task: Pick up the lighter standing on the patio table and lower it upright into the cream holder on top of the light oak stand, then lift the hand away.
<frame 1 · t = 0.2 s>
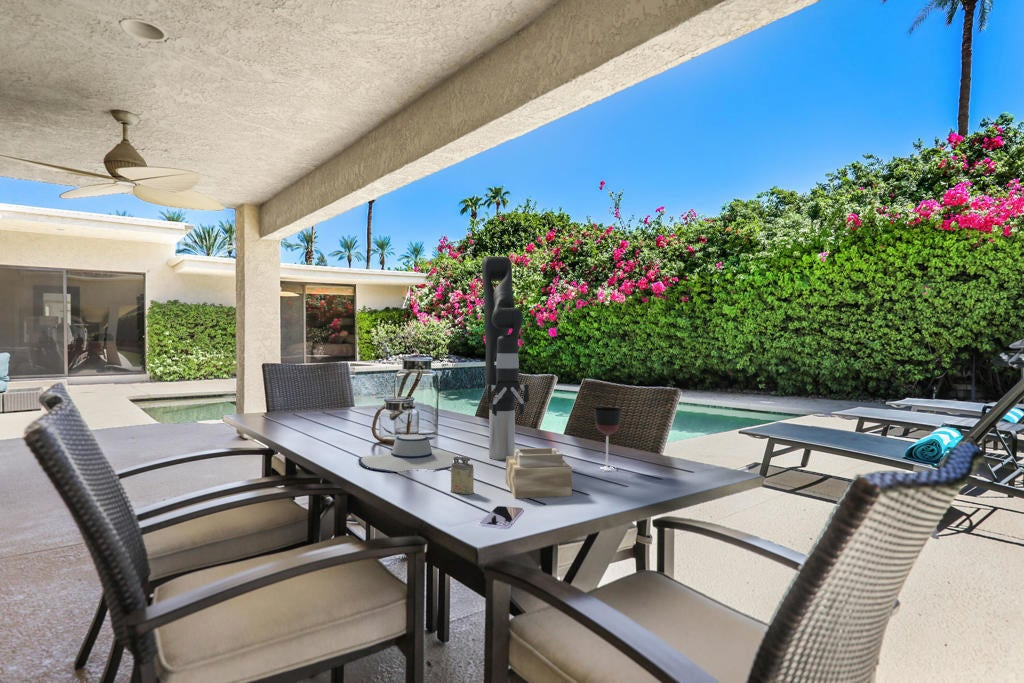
hand: (507, 415, 197), 17 cm above the table, tool pointing down, fingers open, 8 cm apart
mobile phone: (502, 519, 145), on the table
sun hat: (411, 462, 205), on the table
lighter: (461, 493, 166), on the table
holder stand: (537, 489, 170), on the table
wineglass: (606, 469, 195), on the table
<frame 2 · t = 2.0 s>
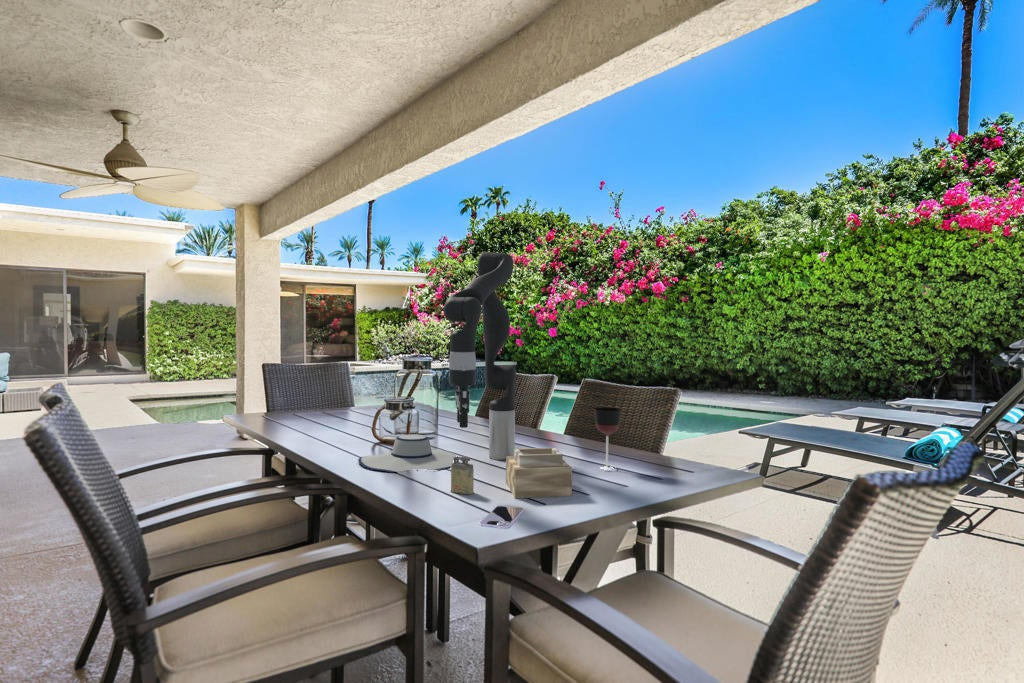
hand: (462, 424, 166), 19 cm above the table, tool pointing down, fingers open, 8 cm apart
nothing on the table moved.
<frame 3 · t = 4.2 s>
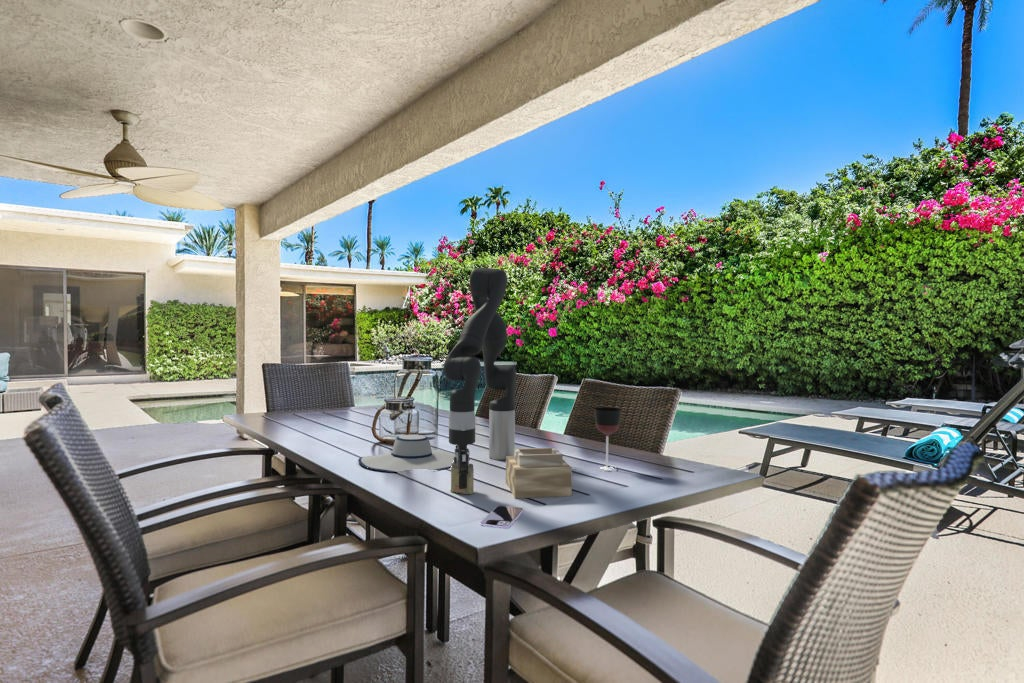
hand: (461, 485, 166), 2 cm above the table, tool pointing down, fingers closed on lighter, 5 cm apart
lighter: (461, 493, 166), on the table, touching gripper
everything else where it was.
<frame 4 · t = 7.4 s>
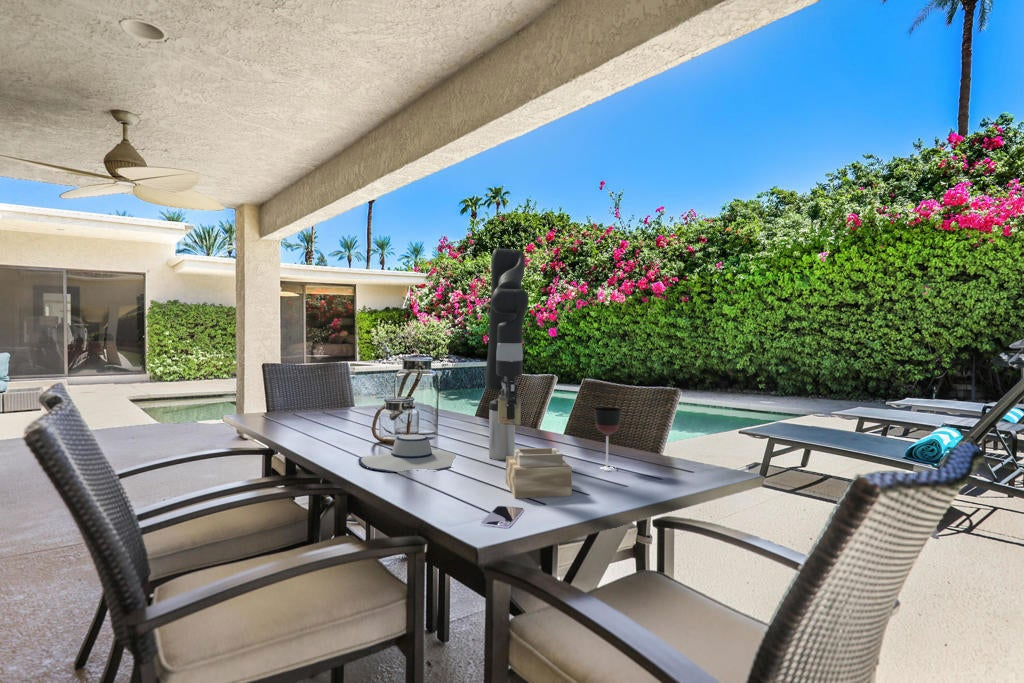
hand: (509, 417, 168), 21 cm above the table, tool pointing down, fingers closed on lighter, 5 cm apart
lighter: (508, 424, 168), point 19 cm above the table, touching gripper
everything else where it was.
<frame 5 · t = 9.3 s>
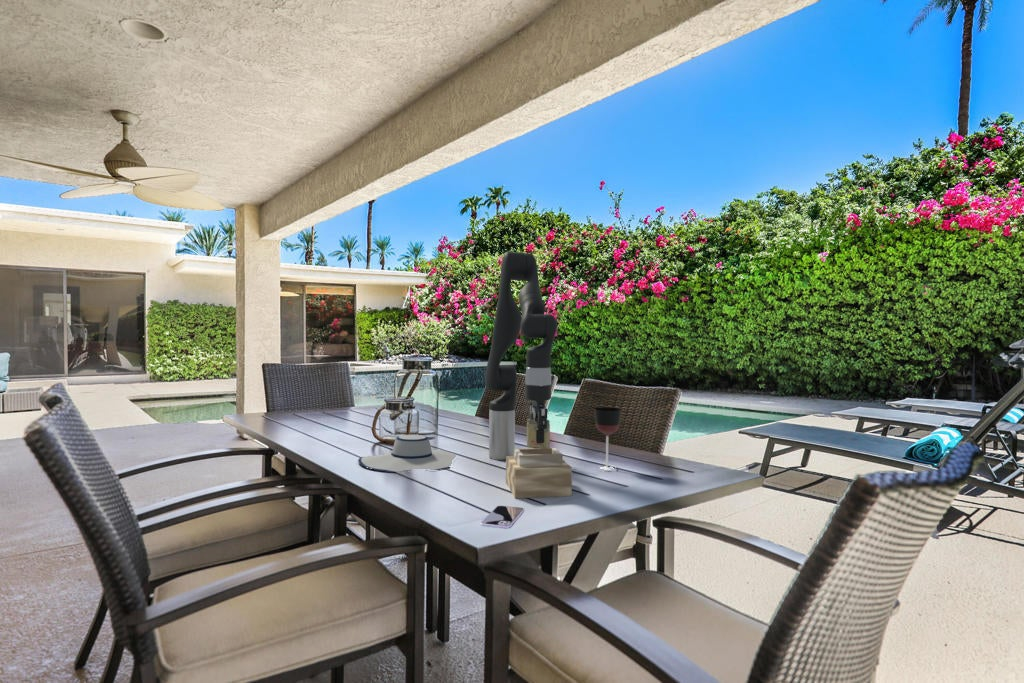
hand: (537, 440, 170), 14 cm above the table, tool pointing down, fingers closed on lighter, 5 cm apart
lighter: (537, 448, 170), point 12 cm above the table, touching gripper
everything else where it was.
when the fingers open (12 cm above the table, at t = 10.6 s): lighter drops 2 cm, resting on holder stand.
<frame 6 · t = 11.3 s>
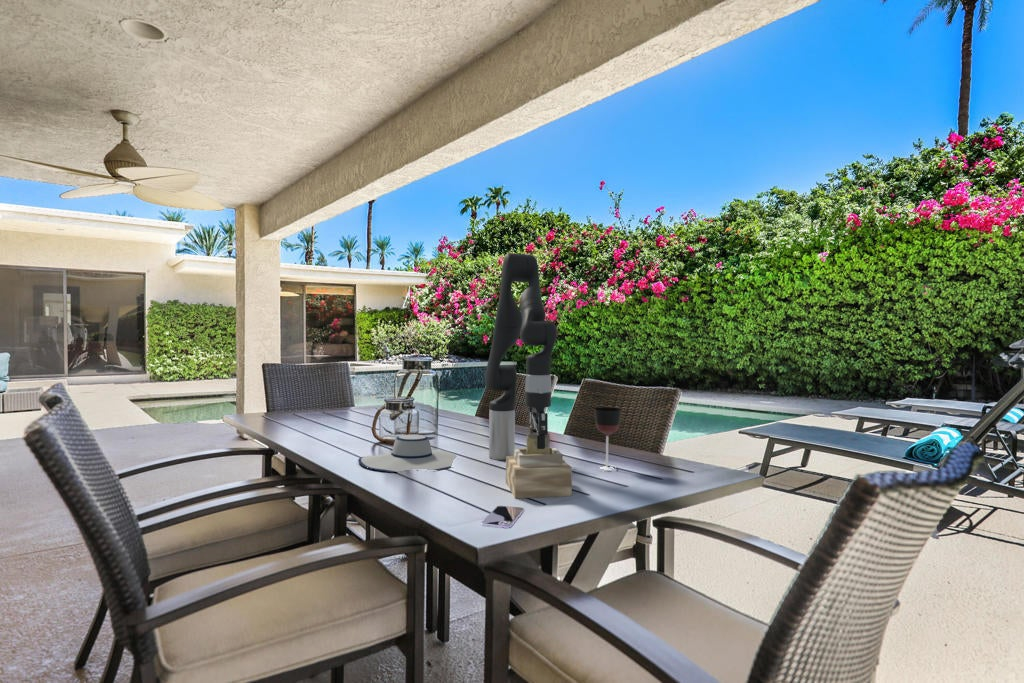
hand: (537, 445, 170), 13 cm above the table, tool pointing down, fingers open, 8 cm apart
lighter: (537, 462, 170), point 8 cm above the table, touching holder stand
everything else where it was.
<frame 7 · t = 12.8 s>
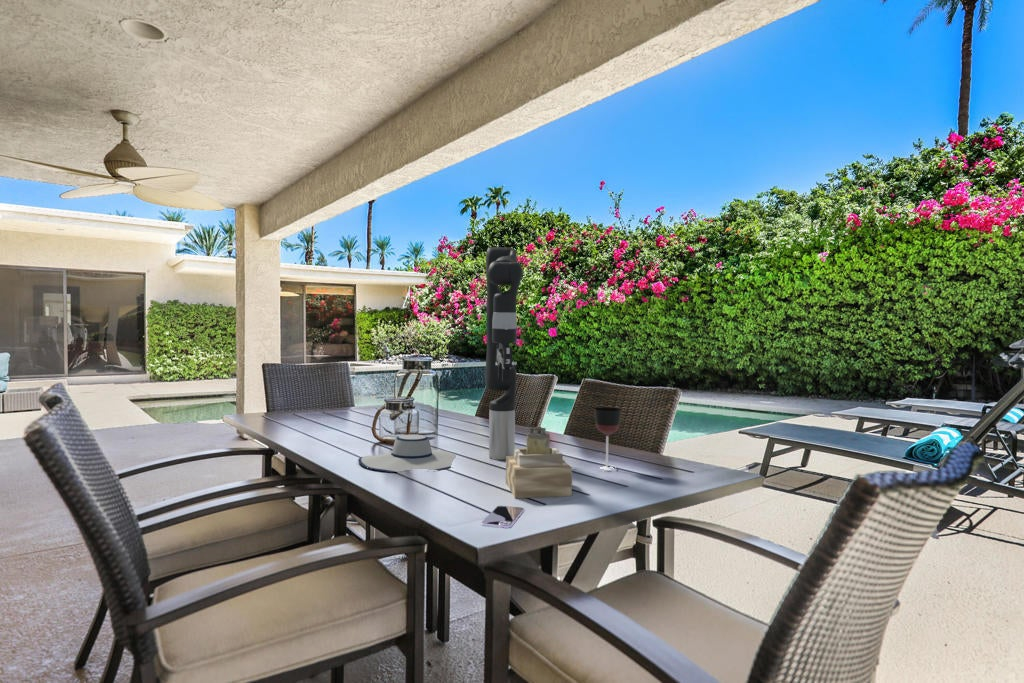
hand: (503, 379, 181), 31 cm above the table, tool pointing down, fingers open, 8 cm apart
nothing on the table moved.
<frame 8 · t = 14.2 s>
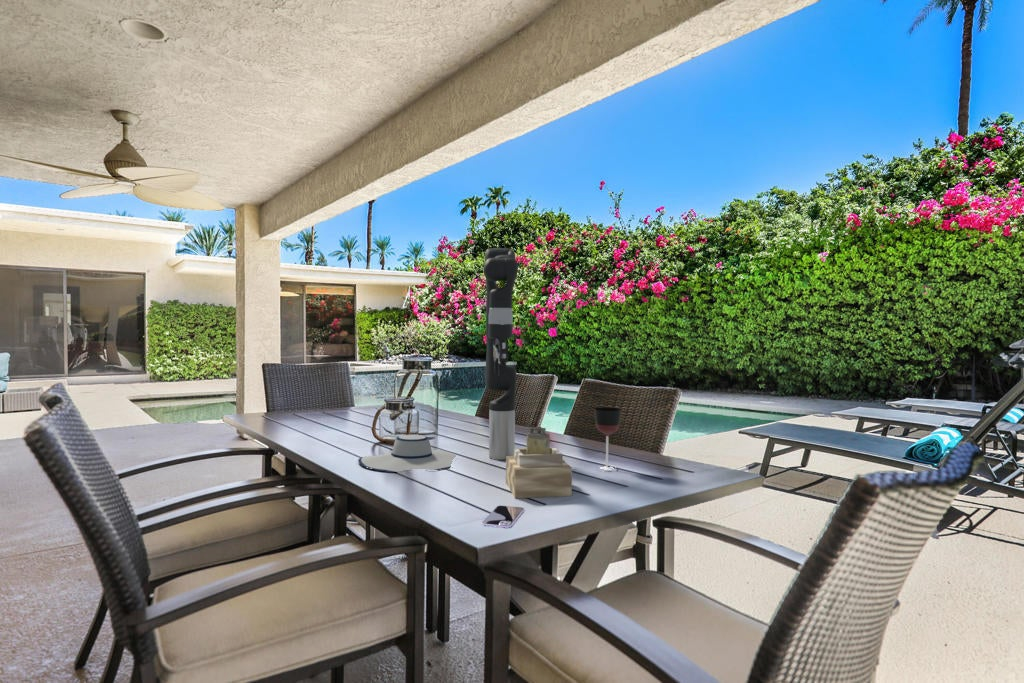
hand: (500, 375, 182), 32 cm above the table, tool pointing down, fingers open, 8 cm apart
nothing on the table moved.
at the end: lighter 0.1 cm off-centre on the holder stand, point 7.8 cm above the holder stand's base; lighter tilted 0°; the gripper is holding nothing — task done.
